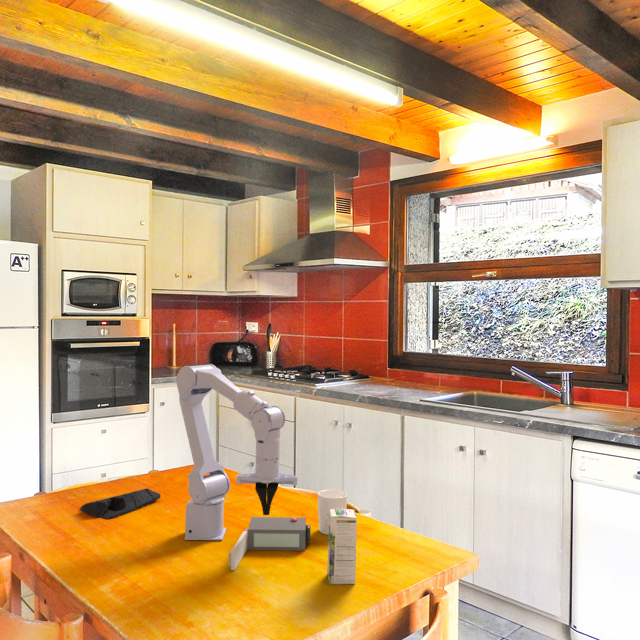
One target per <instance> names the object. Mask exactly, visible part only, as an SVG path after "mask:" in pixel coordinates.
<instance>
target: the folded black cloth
mask: <svg viewBox="0 0 640 640" xmlns="http://www.w3.org/2000/svg"><path fill="white" fill-rule="evenodd" d="M161 497H162V495H161V493H159V492H157V491H154V490H152V489H150V488H148V487H146V488H143V489H140V490H139V489H138V490H135V491H130V492H126V493H123V494H118V495H115V496H110V497H107V498H103V499H98V500H94V501H90V502H86V503H84V504H83V505H81V506H80V509H79V510H78V511H79V512H83V513H84V514H87V515H88V516H90V517H94V518H99V519H100V518H101V519H107V520H111V519H115V518H116V517H120V516H123V515H127V514H128V512H129V513H132V512H133V510H134V511H135V510H138V509H141V508H143V507H142V506H144V507H145V505H146V506H148V505H147V504H149V505H151V504H153V503H154V502H156V501H157V500H159V499H161ZM152 502H153V503H152ZM150 503H151V504H150ZM137 508H138V509H137ZM110 510H111V511H110ZM119 515H120V516H119Z"/></svg>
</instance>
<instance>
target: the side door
mask: <svg viewBox="0 0 640 640" xmlns="http://www.w3.org/2000/svg"><path fill="white" fill-rule="evenodd" d="M247 551H248V528H244V529H243V532H242V534H241V535H240V536H239V538H238V540H237V541H236V542H235V544H234V546H233V547H232V548H231V550H229V552H228V567H230V570H231V571H236V569H237V567H238V565H239V564H240V563H241V560H242V558H243V557H244V556H245V554H246V553H247Z"/></svg>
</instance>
